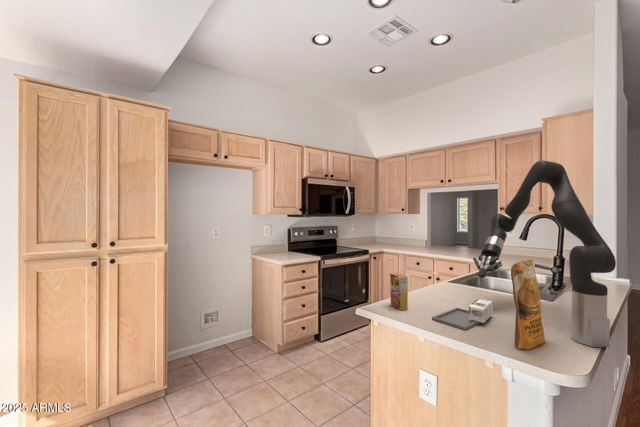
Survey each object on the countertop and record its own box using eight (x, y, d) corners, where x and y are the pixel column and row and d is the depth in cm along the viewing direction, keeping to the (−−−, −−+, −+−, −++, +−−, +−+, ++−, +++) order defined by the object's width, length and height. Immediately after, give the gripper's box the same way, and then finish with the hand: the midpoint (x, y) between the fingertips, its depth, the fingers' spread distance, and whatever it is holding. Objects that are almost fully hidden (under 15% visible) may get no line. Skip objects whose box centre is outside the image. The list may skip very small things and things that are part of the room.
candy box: (389, 304, 145) (389, 273, 144) (397, 303, 146) (397, 272, 146) (399, 310, 136) (399, 277, 136) (408, 309, 137) (408, 276, 137)
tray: (456, 310, 137) (456, 307, 137) (489, 318, 126) (489, 316, 126) (432, 319, 125) (432, 316, 125) (465, 330, 114) (465, 327, 114)
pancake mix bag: (502, 345, 102) (502, 262, 101) (530, 333, 111) (531, 258, 111) (523, 353, 96) (524, 266, 95) (551, 340, 106) (552, 260, 105)
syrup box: (492, 300, 129) (483, 308, 118) (492, 314, 129) (483, 323, 118) (478, 298, 132) (468, 305, 122) (478, 311, 132) (468, 320, 122)
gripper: (476, 241, 147) (463, 269, 140) (506, 243, 137) (494, 274, 129) (481, 251, 151) (469, 279, 143) (510, 254, 140) (499, 284, 133)
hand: (481, 276), depth 136 cm, fingers closed
